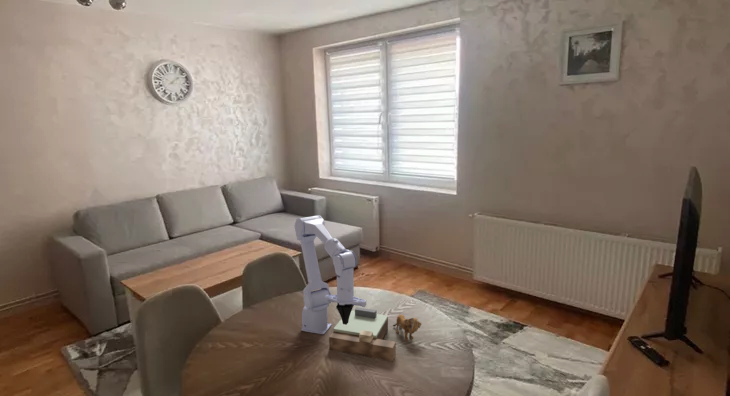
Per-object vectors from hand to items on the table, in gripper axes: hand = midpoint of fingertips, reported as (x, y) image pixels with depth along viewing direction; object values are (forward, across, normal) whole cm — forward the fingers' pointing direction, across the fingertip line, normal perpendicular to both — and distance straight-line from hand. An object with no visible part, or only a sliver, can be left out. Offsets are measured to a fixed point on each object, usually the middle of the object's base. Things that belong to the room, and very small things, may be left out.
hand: (345, 323), depth 146 cm
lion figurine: (+10, +18, +16) cm, 27 cm away
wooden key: (+5, +8, 0) cm, 9 cm away
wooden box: (+10, +6, +8) cm, 14 cm away
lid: (+5, +3, +10) cm, 11 cm away
